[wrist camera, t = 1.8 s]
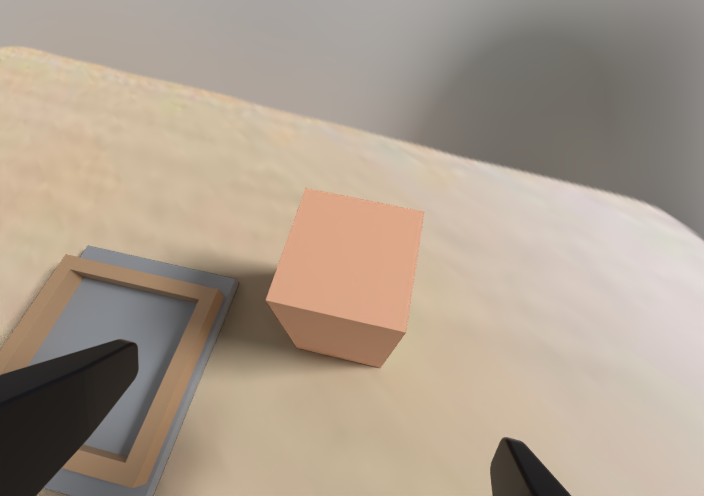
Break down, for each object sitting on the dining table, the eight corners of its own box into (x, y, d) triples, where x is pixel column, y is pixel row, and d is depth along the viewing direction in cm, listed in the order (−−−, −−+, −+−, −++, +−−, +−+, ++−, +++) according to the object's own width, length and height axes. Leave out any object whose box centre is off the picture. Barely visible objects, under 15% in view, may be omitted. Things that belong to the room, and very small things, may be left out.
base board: (146, 511, 16) (122, 522, 14) (-37, 458, 17) (-81, 462, 15) (238, 283, 22) (229, 271, 20) (96, 250, 22) (74, 236, 21)
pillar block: (380, 367, 20) (405, 332, 11) (297, 347, 20) (265, 300, 12) (394, 288, 22) (424, 211, 14) (319, 271, 22) (305, 187, 14)
